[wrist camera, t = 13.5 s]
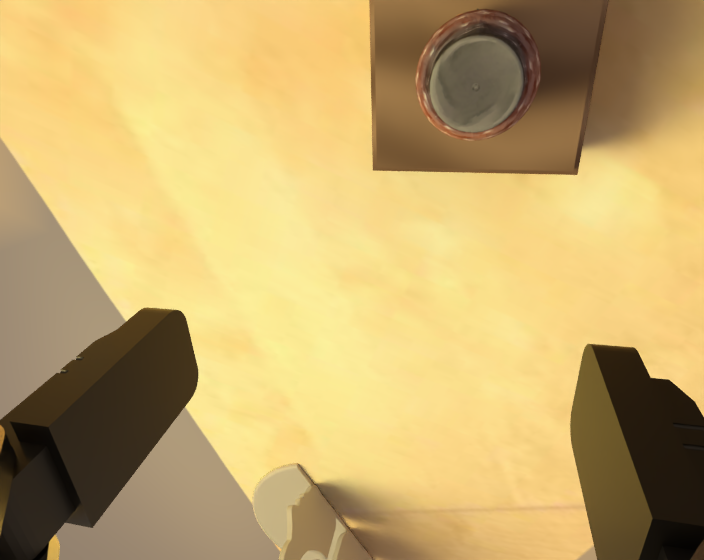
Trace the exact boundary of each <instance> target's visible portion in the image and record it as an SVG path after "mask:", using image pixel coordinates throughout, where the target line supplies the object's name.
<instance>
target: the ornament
mask: <svg viewBox="0 0 704 560" xmlns="http://www.w3.org/2000/svg"><path fill="white" fill-rule="evenodd" d="M253 510H254V514H255V517H256V519H257V521H258V523H259V525H260V527H261V528H262V530H263V531H264V532H265V533H266V535H267V536H268V537H269V538H270V539H271V540H272V541H273V542H274V543H275V544H276V545H277V546H278V547H280V548H281V552H280V556H279V560H373V559H372V558H371V556H370V555H369V554H368V552H367V551H366V550H365V549H364V547H363V546H362V545H361V544H360V542H359V541H358V540H357V539H356V537H355V536H354V535H353V533H352V532H351V531H350V530H349V528H348V527H347V526H346V525H345V523H344V522H343V521H342V519H341V518H340V517H339V516H338V514H337V513H336V512H335V511H334V509H333V508H332V507H331V505H330V504H329V503H328V502H327V500H326V499H325V498H324V497H323V495H322V494H321V493H320V491H319V489H318V487H317V486H316V485H314V484H313V483H312V481H311V480H310V479H309V477H308V476H307V475H306V474H305V472H304V471H303V470H302V469H301V467H300V466H299V465H298V463H294V464H288V465H284V466H281V467H278V468H276V469H274V470H272V471H270V472H268V473H267V474H266V475H264V476H263V477H262V478H261V479H260V481H259V482H258V483H257V485H256V487H255V490H254V493H253Z"/></svg>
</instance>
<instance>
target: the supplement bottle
mask: <svg viewBox="0 0 704 560" xmlns="http://www.w3.org/2000/svg"><path fill="white" fill-rule="evenodd" d="M540 79H541V61H540V55H539V51H538V47H537V45H536V42H535V40H534V39H533V37H532V35H531V33H530V32H529V30H528V29H527V28H526V27H525V26H524V25H523V24H522V23H521V22H520V21H518V20H517V19H516V18H514V17H512V16H510V15H508V14H507V13H504V12H501V11H495V10H490V9H478V8H477V10H473V11H468V12H465V13H462V14H460V15H457V16H456V17H454V18H452V19H450V20H449V21H447V22H446V23H445V24H443V25H442V26H441V27H440V28H439V29H438V30H437V31H436V32H435V33H434V34H433V35H432V36H431V38H430V39H429V41H428V42H427V44H426V46H425V47H424V49H423V52H422V54H421V56H420V59H419V62H418V65H417V71H416V79H415V82H416V93H417V97H418V101H419V104H420V107H421V109H422V111H423V113H424V115H425V116H426V118H427V119H428V120H429V121H430V122H431V123H432V124H433V126H435V127H436V128H437V129H438V130H439V131H441V132H443V133H444V134H446V135H448V136H450V137H453V138H456V139H460V140H467V141H476V140H484V139H489V138H492V137H495V136H497V135H500V134H502V133H503V132H505V131H507V130H508V129H510V128H511V127H513V126H514V125H515V124H516V123H517V122H518V121H519V120H520V119H521V118H522V117H523V116H524V115H525V113H526V112H527V111H528V109H529V108H530V106H531V104H532V102H533V100H534V98H535V96H536V93H537V90H538V87H539V83H540Z"/></svg>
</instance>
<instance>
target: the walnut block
mask: <svg viewBox="0 0 704 560" xmlns="http://www.w3.org/2000/svg"><path fill="white" fill-rule="evenodd" d="M607 5H608V0H370V48H371V98H372V147H373V170H379V171H425V172H472V173H519V174H566V175H577V174H578V168H579V162H580V157H581V151H582V146H583V140H584V134H585V129H586V123H587V118H588V112H589V106H590V101H591V95H592V90H593V84H594V78H595V73H596V67H597V62H598V56H599V50H600V45H601V39H602V33H603V28H604V22H605V17H606V11H607ZM477 8H478V9H490V10H495V11H501V12H504V13H507V14H508V15H510V16H512V17H514V18H516V19H517V20H518V21H520V22H521V23H522V24H523V25H524V26H525V27H526V28H527V29H528V30H529V32H530V33H531V35H532V37H533V39H534V40H535V42H536V45H537V47H538V51H539V55H540V61H541V79H540V83H539V87H538V90H537V93H536V96H535V98H534V100H533V102H532V104H531V106H530V108H529V109H528V111H527V112H526V113H525V115H524V116H523V117H522V118H521V119H520V120H519V121H518V122H517V123H516V124H515V125H514V126H513V127H511V128H510V129H508V130H507V131H505V132H503V133H502V134H500V135H497V136H495V137H492V138H489V139H484V140H476V141H467V140H460V139H456V138H453V137H450V136H448V135H446V134H444V133H443V132H441V131H439V130H438V129H437V128H436V127H435V126H433V124H432V123H431V122H430V121H429V120H428V119H427V118H426V116H425V115H424V113H423V111H422V109H421V107H420V104H419V101H418V97H417V93H416V82H415V79H416V71H417V65H418V62H419V59H420V56H421V54H422V52H423V49H424V47H425V46H426V44H427V42H428V41H429V39H430V38H431V36H432V35H433V34H434V33H435V32H436V31H437V30H438V29H439V28H440V27H441V26H442V25H443V24H445V23H446V22H447V21H449V20H450V19H452V18H454V17H456V16H457V15H460V14H462V13H465V12H468V11H473V10H477Z"/></svg>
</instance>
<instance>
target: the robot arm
mask: <svg viewBox="0 0 704 560" xmlns="http://www.w3.org/2000/svg"><path fill="white" fill-rule="evenodd" d="M197 382H198V367H197V363H196V359H195V354H194V350H193V346H192V342H191V337H190V333H189V329H188V325H187V321H186V318H185V316H184V314H183V313H182V312H181V311H179V310H170V309H158V308H143V309H141V310H140V311H138V312H137V313H136V314H135V315H134V316H133V317H131V318H130V319H129V320H128V321H127V322H126V323H124V324H123V325H122V326H121V327H120V328H119V329H117V330H116V331H114V332H112V333H110V334H108V335H106V336H104V337H102V338H100V339H98V340H96V341H95V342H93V343H92V344H91V345H90V346H89V347H88V348H86V349H85V350H84V351H83V352H81V353H80V354H79V355H78V356H77V359H76V360H72V361H71V362H69V363H68V364H67V365H66V366H65V367H63V368H62V369H61V372H60V373H56V374H55V375H54V376H53V377H51V378H50V379H49V380H48V381H47V382H45V383H44V384H43V385H42V386H41V387H39V388H38V389H37V390H36V391H34V392H33V393H32V394H31V395H30V396H28V397H27V398H26V399H25V400H24V401H23V402H21V403H20V404H19V405H18V406H16V407H15V408H14V409H13V410H12V411H10V412H9V413H8V414H7V415H6V416H5V417H3V418H2V419H1V420H0V560H59V550H60V545H59V541H58V538H57V536H56V533H57V531H58V530H59V529H60V528H61V527H62V526H63V524H64V523H71V524H76V525H81V526H86V527H91V528H93V526H94V525H95V524H96V522H97V521H98V520H99V519H100V517H101V516H102V515H103V513H104V512H105V511H106V509H107V508H108V507H109V505H110V504H111V503H112V501H113V500H114V499H115V497H116V496H117V495H118V494H119V492H120V491H121V490H122V488H123V487H124V486H125V484H126V483H127V482H128V481H129V479H130V478H131V477H132V475H133V474H134V473H135V471H136V470H137V469H138V467H139V466H140V465H141V463H142V462H143V461H144V460H145V458H146V457H147V455H148V454H149V453H150V451H151V450H152V449H153V448H154V446H155V445H156V444H157V443H158V441H159V440H160V438H161V437H162V436H163V434H164V433H165V432H166V431H167V429H168V428H169V427H170V425H171V424H172V423H173V421H174V420H175V419H176V418H177V416H178V415H179V414H180V412H181V411H182V410H183V408H184V407H185V406H186V405H187V403H188V402H189V401H190V399H191V398H192V396H193V394H194V392H195V390H196V387H197ZM570 427H571V442H572V448H573V452H574V457H575V461H576V466H577V470H578V475H579V479H580V484H581V488H582V493H583V497H584V502H585V506H586V511H587V515H588V520H589V524H590V529H591V533H592V538H593V542H594V547H595V551H596V556H597V560H704V417H703V415H702V414H701V412H700V410H699V408H698V407H697V405H696V403H695V402H694V401H693V400H692V399H691V398H690V397H689V396H687V395H686V394H685V393H684V392H683V391H682V390H680V389H679V388H678V387H677V386H676V385H675V384H673V383H672V382H671V381H670V380H666V379H656V378H650V376H649V374H648V372H647V369H646V367H645V365H644V363H643V361H642V359H641V357H640V355H639V353H638V351H637V350H636V349H635V348H633V347H620V346H608V345H595V344H587V345H586V347H585V349H584V352H583V356H582V361H581V366H580V371H579V376H578V381H577V386H576V391H575V396H574V401H573V406H572V412H571V425H570Z"/></svg>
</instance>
